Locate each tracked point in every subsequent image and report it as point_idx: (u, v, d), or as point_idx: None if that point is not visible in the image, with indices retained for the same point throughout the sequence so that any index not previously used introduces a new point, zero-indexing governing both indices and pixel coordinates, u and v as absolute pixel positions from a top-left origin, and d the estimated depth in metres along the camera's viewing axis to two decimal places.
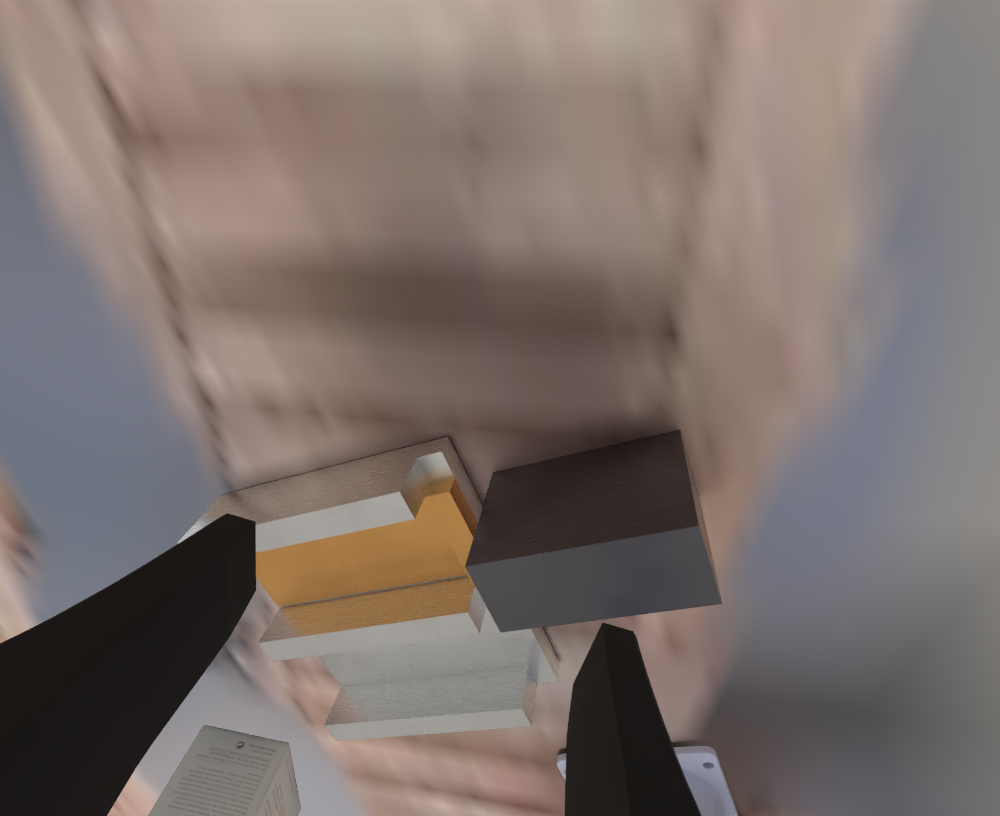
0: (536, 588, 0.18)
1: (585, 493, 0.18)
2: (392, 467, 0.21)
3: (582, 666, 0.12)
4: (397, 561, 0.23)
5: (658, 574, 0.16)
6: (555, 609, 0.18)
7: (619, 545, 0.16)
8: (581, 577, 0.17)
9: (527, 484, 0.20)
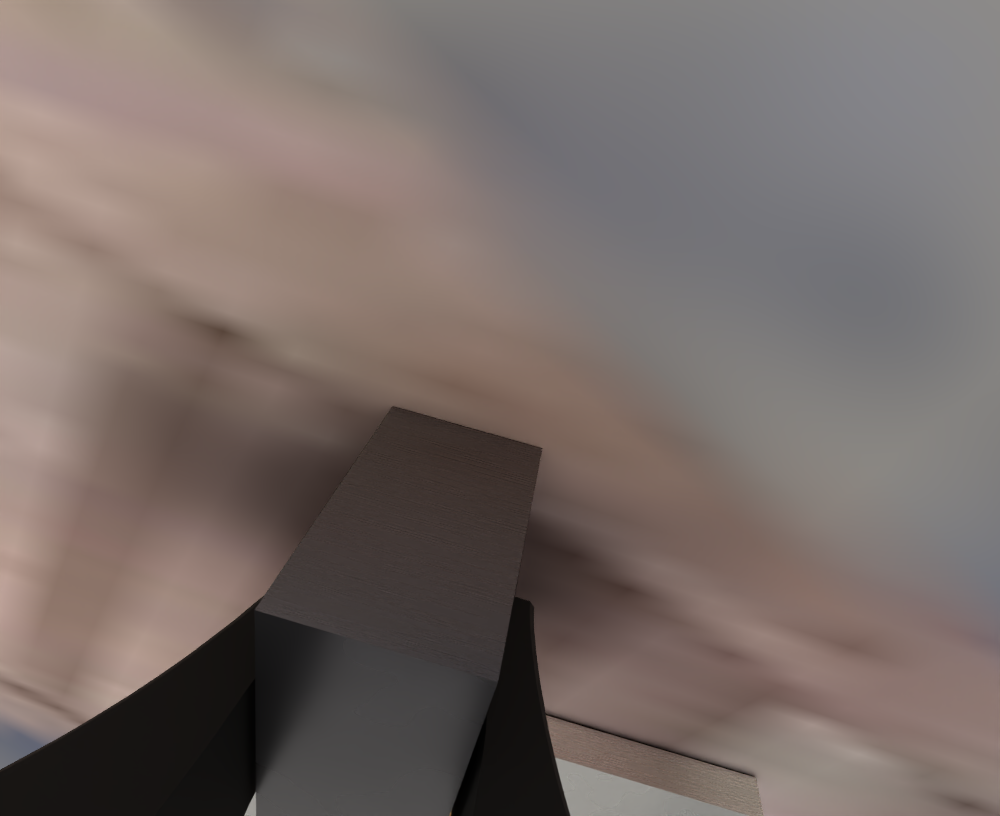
0: None
1: None
2: None
3: None
4: None
5: (363, 715, 0.07)
6: None
7: (270, 720, 0.08)
8: (328, 789, 0.09)
9: None
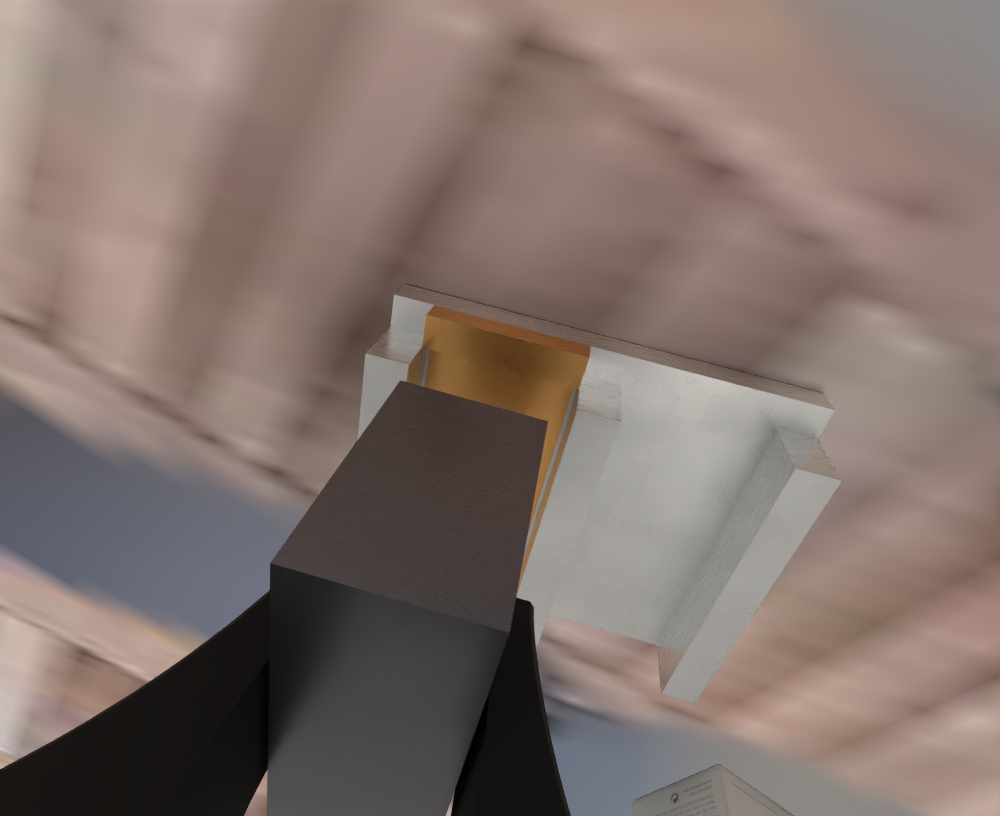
0: (343, 800, 0.09)
1: None
2: None
3: None
4: None
5: (376, 670, 0.08)
6: (402, 810, 0.09)
7: (283, 678, 0.08)
8: (339, 749, 0.09)
9: None
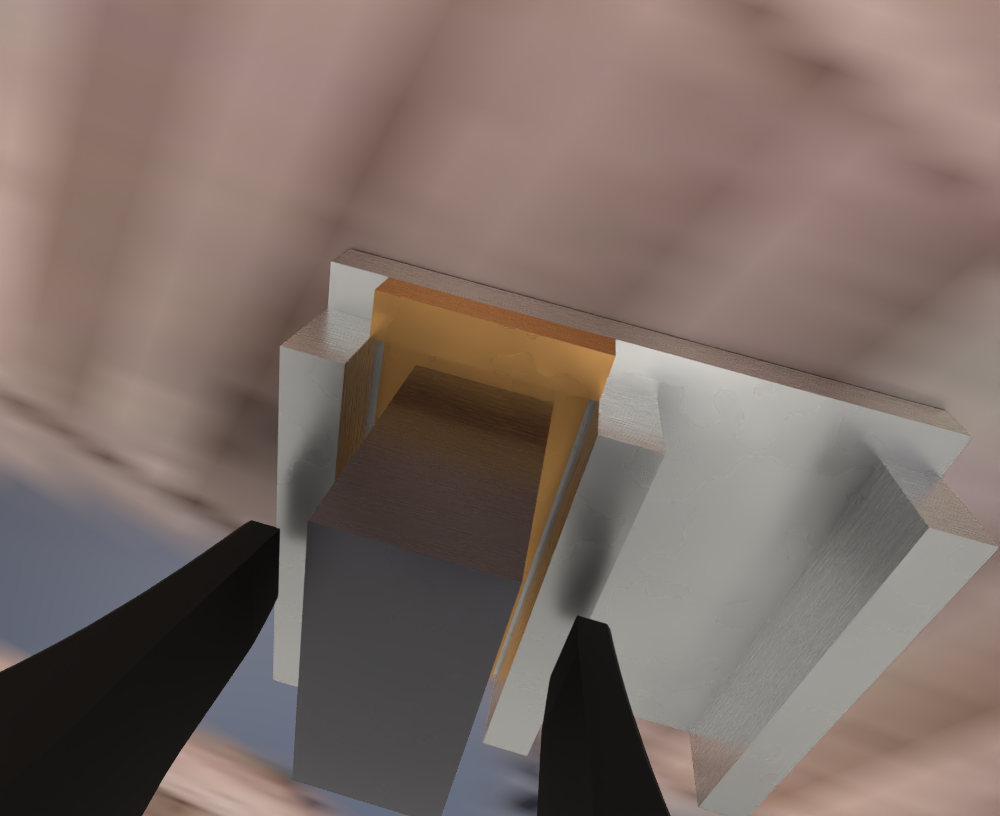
0: (366, 749, 0.10)
1: None
2: None
3: (558, 659, 0.12)
4: None
5: (400, 622, 0.08)
6: (419, 757, 0.10)
7: (314, 630, 0.09)
8: (363, 699, 0.10)
9: None
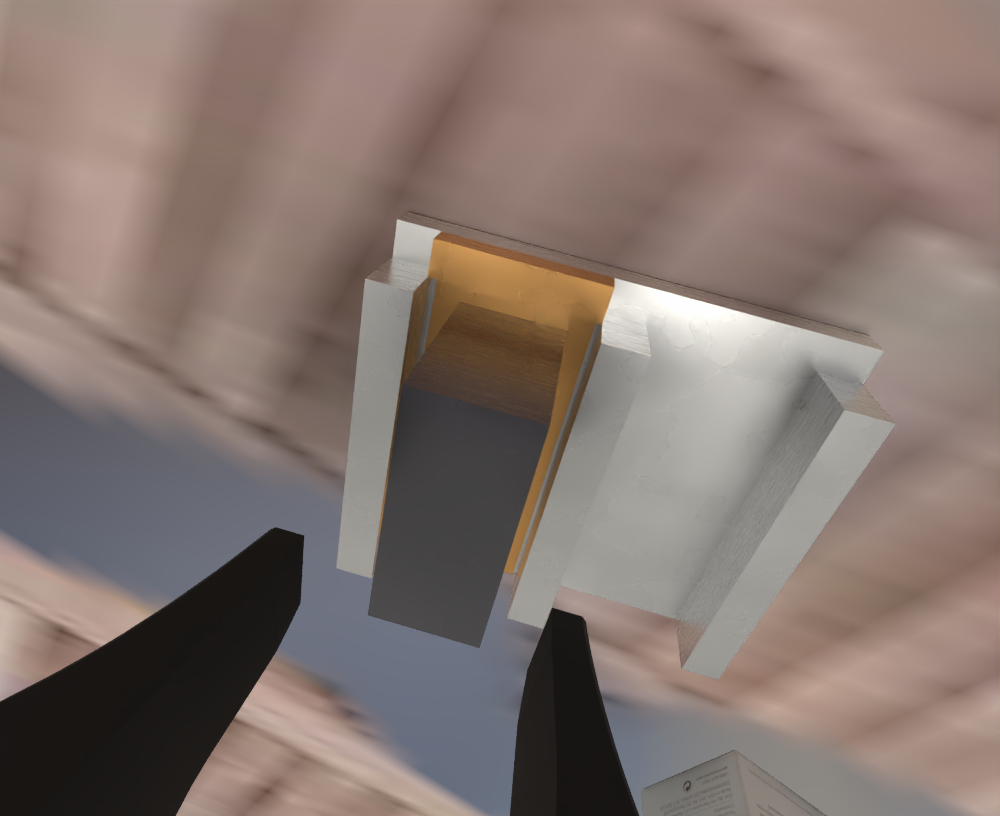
0: (428, 580, 0.14)
1: None
2: None
3: None
4: None
5: (462, 463, 0.12)
6: (469, 584, 0.14)
7: (398, 475, 0.12)
8: (430, 534, 0.13)
9: None
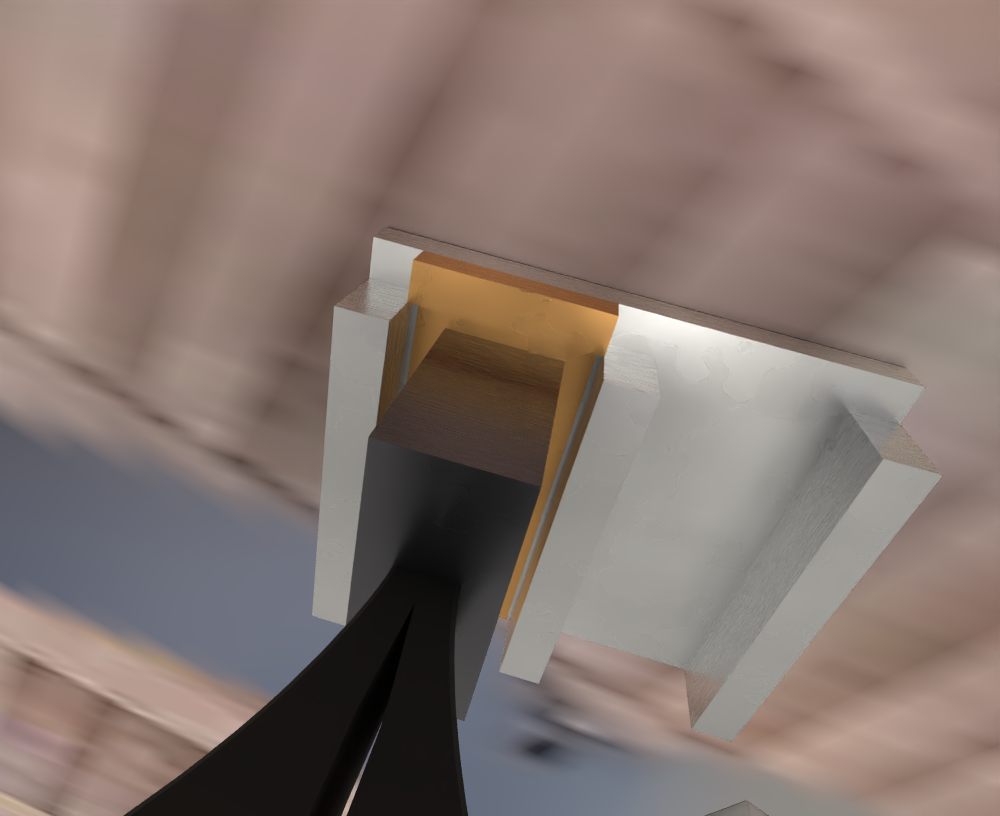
0: None
1: None
2: None
3: None
4: None
5: (440, 526, 0.10)
6: None
7: (367, 536, 0.11)
8: None
9: None
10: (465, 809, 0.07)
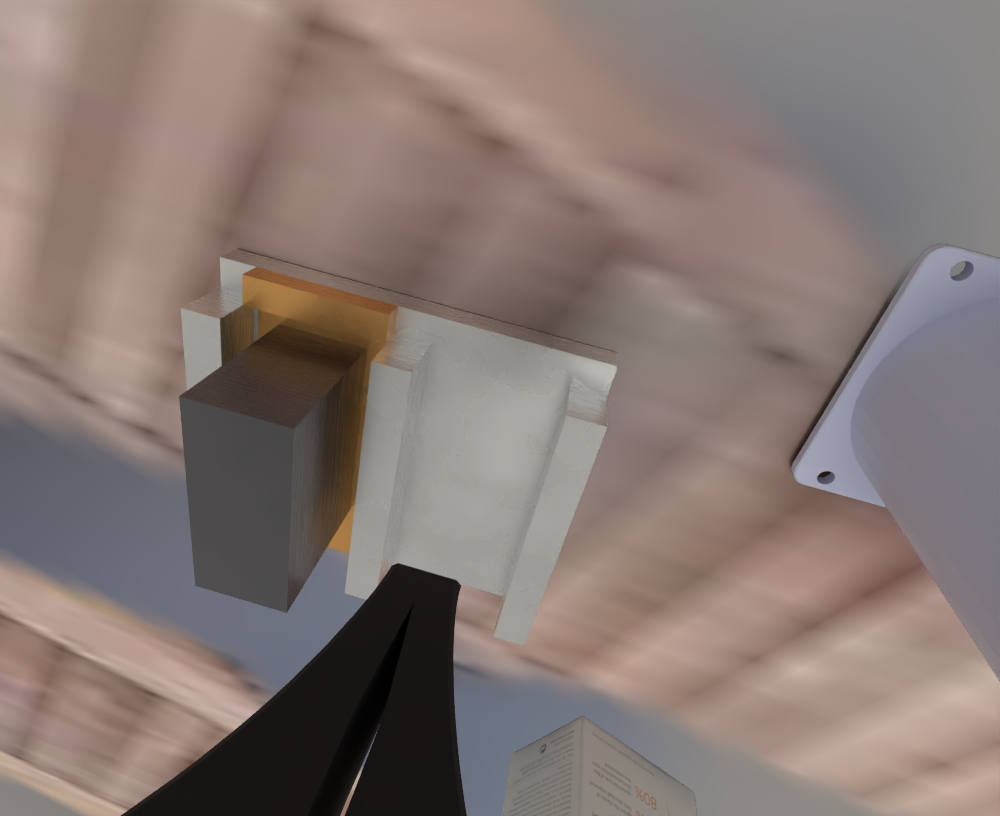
0: (234, 555, 0.17)
1: None
2: None
3: None
4: None
5: (237, 459, 0.15)
6: (266, 558, 0.17)
7: (192, 468, 0.15)
8: (227, 516, 0.16)
9: None
10: (463, 808, 0.07)
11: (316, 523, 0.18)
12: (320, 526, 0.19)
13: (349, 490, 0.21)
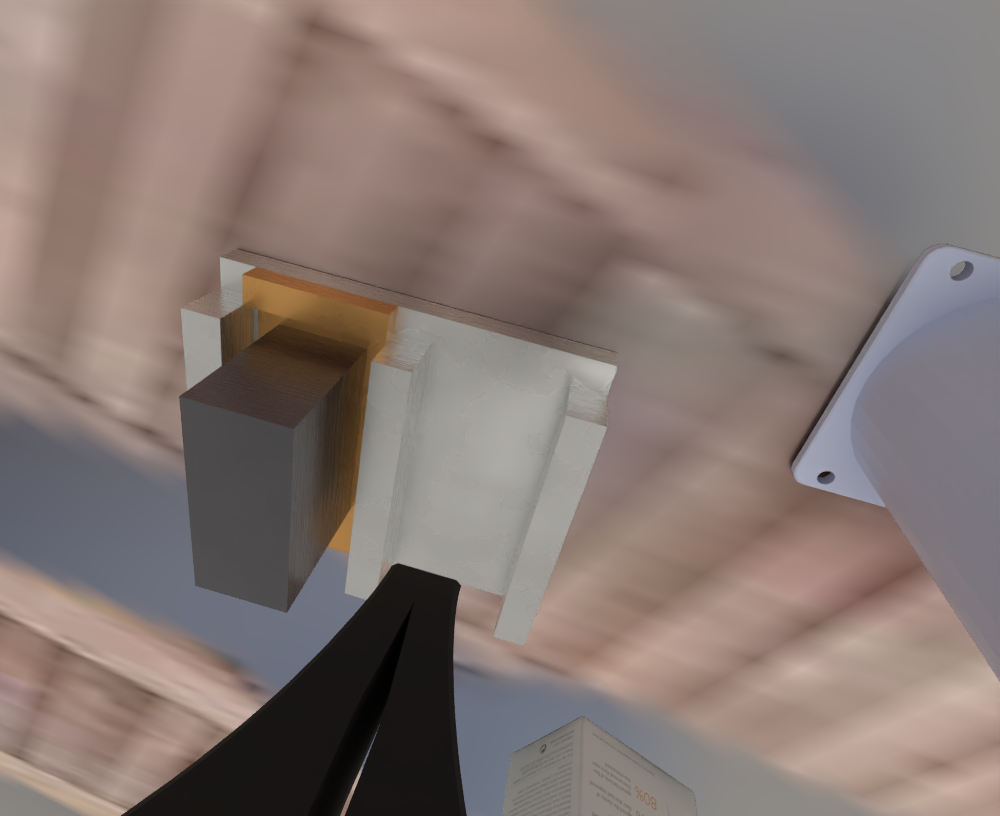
0: (234, 555, 0.17)
1: None
2: None
3: None
4: None
5: (237, 459, 0.15)
6: (266, 558, 0.17)
7: (192, 468, 0.15)
8: (227, 516, 0.16)
9: None
10: (463, 808, 0.07)
11: (316, 523, 0.18)
12: (320, 526, 0.19)
13: (349, 490, 0.21)
